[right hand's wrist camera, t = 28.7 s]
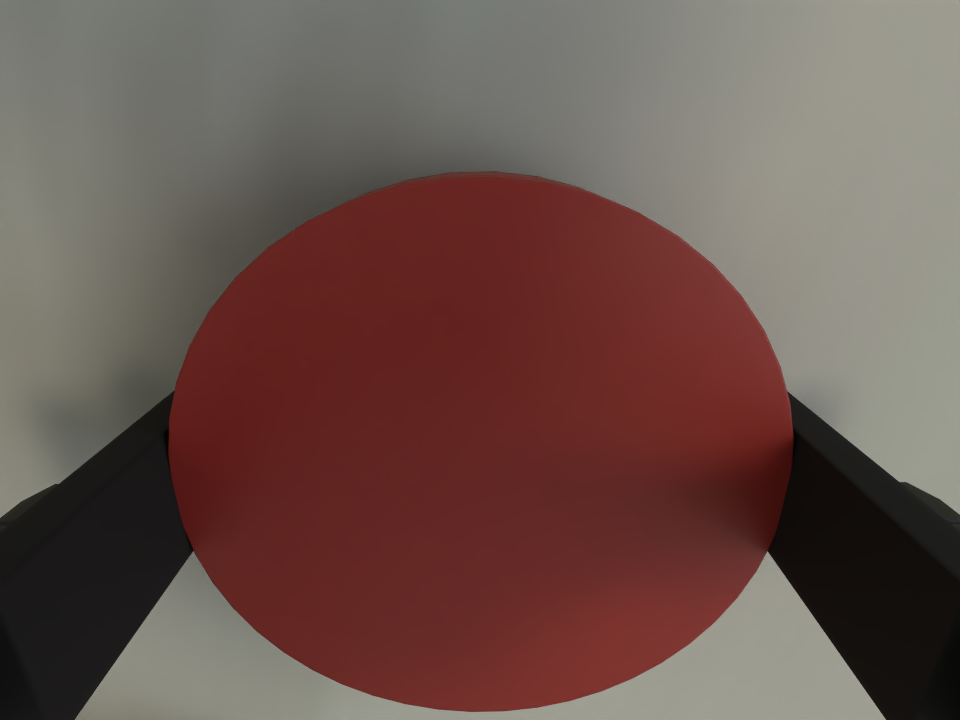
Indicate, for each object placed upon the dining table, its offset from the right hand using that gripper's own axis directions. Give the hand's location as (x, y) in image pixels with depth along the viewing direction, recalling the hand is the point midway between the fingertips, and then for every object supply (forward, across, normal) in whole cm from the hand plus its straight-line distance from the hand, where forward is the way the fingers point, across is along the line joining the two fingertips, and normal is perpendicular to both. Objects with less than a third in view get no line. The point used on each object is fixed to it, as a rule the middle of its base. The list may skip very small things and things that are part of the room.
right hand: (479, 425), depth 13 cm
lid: (-3, 0, 0) cm, 3 cm away
